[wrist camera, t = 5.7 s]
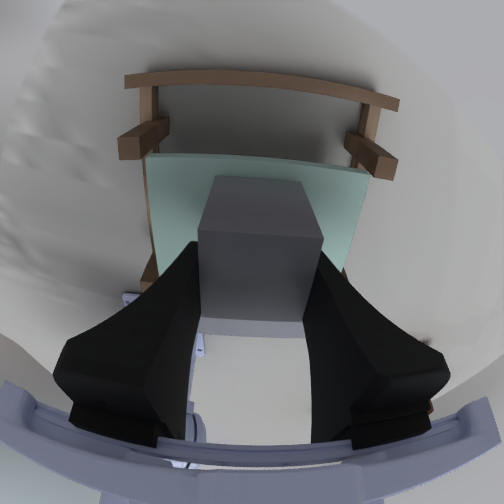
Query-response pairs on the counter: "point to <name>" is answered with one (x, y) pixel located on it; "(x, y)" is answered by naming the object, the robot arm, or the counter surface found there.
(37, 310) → the counter surface
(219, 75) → the frame
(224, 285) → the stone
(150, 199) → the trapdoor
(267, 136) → the counter surface
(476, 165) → the counter surface
